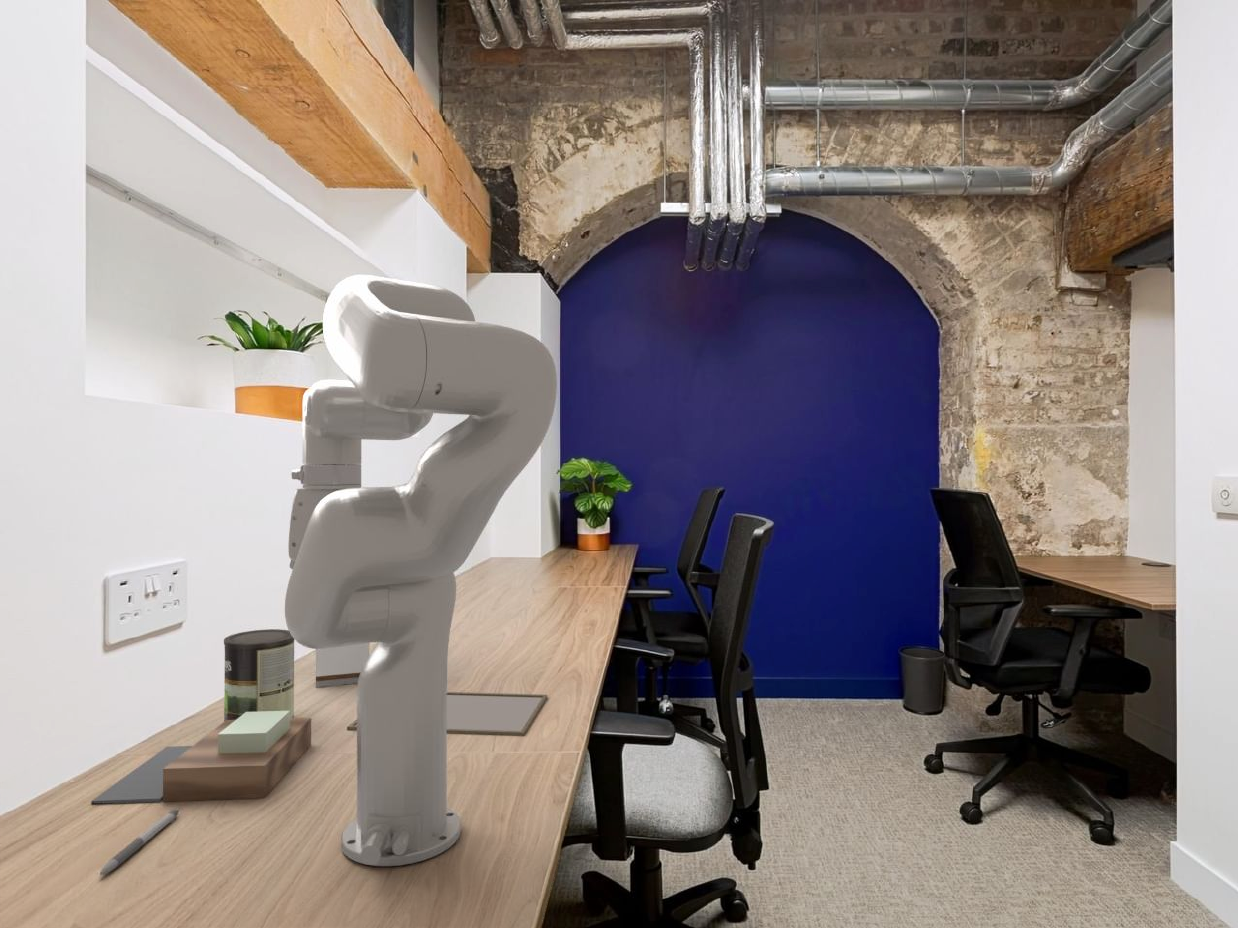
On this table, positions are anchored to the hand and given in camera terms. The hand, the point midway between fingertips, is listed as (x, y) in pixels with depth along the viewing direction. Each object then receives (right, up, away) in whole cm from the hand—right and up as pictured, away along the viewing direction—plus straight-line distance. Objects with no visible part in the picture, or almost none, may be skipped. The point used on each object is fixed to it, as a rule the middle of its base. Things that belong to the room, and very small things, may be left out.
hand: (332, 612), depth 103 cm
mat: (-22, -21, -2) cm, 30 cm away
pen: (-13, -22, -21) cm, 33 cm away
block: (-10, -17, -1) cm, 20 cm away
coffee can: (-18, -22, +17) cm, 33 cm away
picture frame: (+12, -22, +23) cm, 34 cm away
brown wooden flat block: (-11, -21, -1) cm, 24 cm away
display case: (-14, -22, +45) cm, 52 cm away
